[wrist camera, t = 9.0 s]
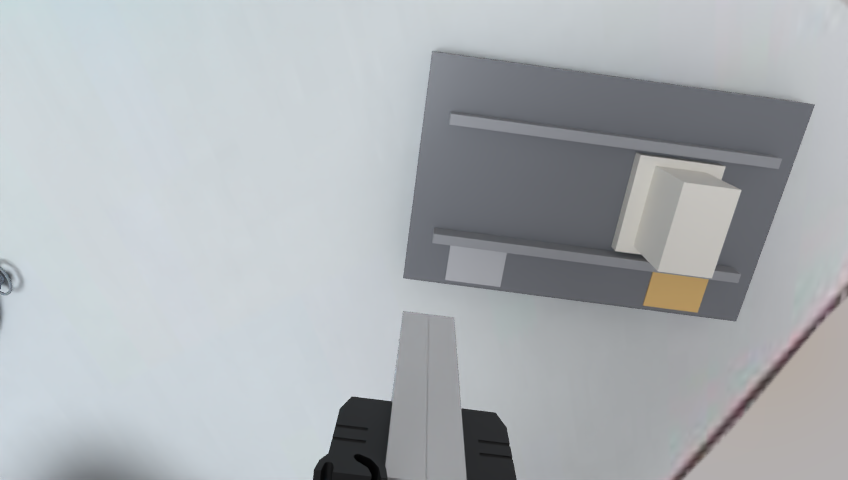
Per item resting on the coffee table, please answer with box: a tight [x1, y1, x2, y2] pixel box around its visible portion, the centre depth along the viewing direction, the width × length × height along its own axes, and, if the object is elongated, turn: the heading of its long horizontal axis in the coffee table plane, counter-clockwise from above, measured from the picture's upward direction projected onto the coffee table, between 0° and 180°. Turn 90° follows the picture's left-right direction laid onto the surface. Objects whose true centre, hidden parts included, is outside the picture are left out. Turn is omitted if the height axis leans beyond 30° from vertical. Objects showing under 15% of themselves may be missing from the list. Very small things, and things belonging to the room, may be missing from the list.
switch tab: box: [611, 152, 741, 278], centre depth 31 cm, size 6×5×5 cm
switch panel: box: [403, 51, 814, 321], centre depth 34 cm, size 14×22×3 cm, turn 82°
